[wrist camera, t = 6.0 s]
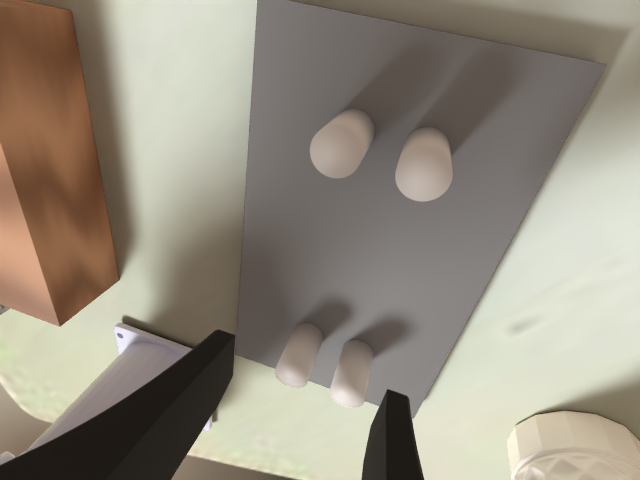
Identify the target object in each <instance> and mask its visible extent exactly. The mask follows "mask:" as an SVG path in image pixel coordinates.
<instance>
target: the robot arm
mask: <svg viewBox="0 0 640 480" xmlns="http://www.w3.org/2000/svg"><path fill="white" fill-rule="evenodd" d="M114 331H115V336H116V341H117V346H118V351H119V356H118V357H117V358H116V359H115V360H114V361H113V362H112V363H111V364H110V365H109V366H108V367H107V368H106V369H105V371H104V372H103V373H102V374H101V375H100V376H99V377H98V378H97V379H96V380H95V381H94V382H93V383H92V384H91V385H90V386H89V387H88V388H87V389H86V390H85V391H84V392H83V393H82V394H81V395H80V396H79V397H78V398H77V399H76V400H75V401H74V402H73V403H72V404H71V405H70V406H69V407H68V408H67V409H66V410H65V411H64V412H63V413H62V415H61V416H60V417H59V418H58V419H57V420H56V421H55V422H54V423H53V424H52V425H51V426H50V427H49V428H48V429H47V430H46V431H45V432H44V433H43V434H42V435H41V436H40V437H39V438H38V439H37V440H36V441H35V442H34V443H33V444H32V445H31V446H30V447H29V448H28V449H27V450H26V451H24V452H23V453H21V454H20V455H19V456H17V457H16V458H15V456H14V455H12V454H11V453H10V452H7V451H6V452H3V453H2V454H1V455H0V480H171V479H172V477H173V475H174V473H175V472H176V470H177V469H178V467H179V466H180V464H181V462H182V461H183V459H184V458H185V456H186V455H187V453H188V451H189V450H190V448H191V447H192V445H193V444H194V442H195V441H196V439H197V437H198V436H199V434H200V433H201V431H202V430H205V431H209V430H210V429H211V427H212V414H213V412H214V411H215V409H216V407H217V406H218V404H219V402H220V400H221V398H222V396H223V394H224V392H225V390H226V388H227V386H228V384H229V382H230V380H231V378H232V376H233V364H234V346H235V335H233V334H230V333H227V332H224V331H221V330H215V331H214V332H213V333H212V334H210V335H209V336H208V337H207V338H206V339H204V340H203V341H202V342H201V343H200V344H198V345H197V346H196V347H195V348H193V349H192V348H189V347H186V346H184V345H181V344H178V343H175V342H173V341H170V340H167V339H164V338H162V337H159V336H156V335H153V334H151V333H148V332H145V331H142V330H140V329H137V328H134V327H131V326H129V325H126V324H123V323H118V324H117V325H115V326H114ZM362 480H424V477H423V473H422V468H421V464H420V460H419V455H418V451H417V446H416V440H415V435H414V429H413V423H412V417H411V409H410V399H409V398H408V396H407V395H404V394H401V393H398V392H395V391H392V390H389V389H387V391H386V393H385V395H384V397H383V400H382V402H381V404H380V407H379V409H378V411H377V413H376V416H375V418H374V420H373V423H372V425H371V428H370V433H369V438H368V442H367V447H366V452H365V457H364V463H363V472H362Z"/></svg>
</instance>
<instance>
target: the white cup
mask: <svg viewBox="0 0 640 480" xmlns="http://www.w3.org/2000/svg"><path fill="white" fill-rule="evenodd" d="M507 446H508V454H509V462H510V470H511V478H512V480H640V441H639V440H638V439H637V438H636V437H635V436H634V435H633V434H632V433H631V432H630V431H629V430H628V429H627V428H626V427H625V426H623V425H621V424H619V423H616V422H614V421H611V420H609V419H606V418H604V417H601V416H599V415H596V414H589V413H581V412H572V411H558V412H551V413H545V414H538V415H534V416H532V417H530V418H529V419H527V420H525V421H523V422H521V423H519V424H518V425H516V426H515V427H514V429H513V431H512V433H511V435H510V436H509V438H508V440H507Z"/></svg>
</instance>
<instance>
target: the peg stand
mask: <svg viewBox="0 0 640 480" xmlns="http://www.w3.org/2000/svg"><path fill="white" fill-rule="evenodd" d="M605 67H606V64H601V63H596V62H591V61H586V60H582V59H577V58H572V57H567V56H562V55H557V54H552V53H547V52H542V51H537V50H532V49H527V48H522V47H517V46H512V45H507V44H502V43H497V42H492V41H487V40H483V39H478V38H473V37H468V36H463V35H458V34H453V33H448V32H443V31H438V30H433V29H428V28H423V27H418V26H413V25H408V24H403V23H398V22H393V21H388V20H384V19H379V18H374V17H369V16H364V15H359V14H354V13H349V12H344V11H339V10H334V9H329V8H324V7H319V6H314V5H309V4H304V3H299V2H294V1H289V0H257V15H256V31H255V47H254V63H253V79H252V95H251V111H250V127H249V143H248V159H247V175H246V191H245V207H244V223H243V239H242V255H241V271H240V287H239V303H238V319H237V335H236V351H235V354H236V355H238V356H241V357H244V358H247V359H250V360H252V361H255V362H258V363H261V364H263V365H266V366H269V367H272V368H275V374H276V376H277V378H278V379H279V380H280V381H281V382H282V383H284V384H285V385H287V386H290V387H294V388H300V387H303V386H305V385H306V384H307V382H308V381H311V382H314V383H316V384H319V385H322V386H325V387H327V388H330V396H331V397H332V399H333V400H334V401H335V402H337V403H338V404H340V405H342V406H345V407H349V408H356V407H359V406H361V405H362V404H363V403H364V401H366V402H369V403H372V404H375V405H377V406H380V404H381V402H382V400H383V397H384V395H385V393H386V391H387V389H389V390H392V391H395V392H398V393H401V394H404V395H407V396H408V398H409V399H410V409H411V417H412V418H414V417H415V415H416V413H417V412H418V410H419V408H420V406H421V404H422V402H423V401H424V399H425V397H426V395H427V393H428V391H429V390H430V388H431V386H432V384H433V382H434V380H435V379H436V377H437V375H438V373H439V371H440V369H441V368H442V366H443V364H444V362H445V360H446V359H447V357H448V355H449V353H450V351H451V349H452V348H453V346H454V344H455V342H456V340H457V338H458V337H459V335H460V333H461V331H462V329H463V327H464V326H465V324H466V322H467V320H468V318H469V316H470V315H471V313H472V311H473V309H474V307H475V305H476V304H477V302H478V300H479V298H480V296H481V294H482V293H483V291H484V289H485V287H486V285H487V283H488V282H489V280H490V278H491V276H492V274H493V272H494V271H495V269H496V267H497V265H498V263H499V261H500V260H501V258H502V256H503V254H504V252H505V250H506V249H507V247H508V245H509V243H510V241H511V239H512V238H513V236H514V234H515V232H516V230H517V228H518V227H519V225H520V223H521V221H522V219H523V217H524V216H525V214H526V212H527V210H528V208H529V206H530V205H531V203H532V201H533V199H534V197H535V195H536V194H537V192H538V190H539V188H540V186H541V184H542V183H543V181H544V179H545V177H546V175H547V173H548V172H549V170H550V168H551V166H552V164H553V162H554V161H555V159H556V157H557V155H558V153H559V151H560V150H561V148H562V146H563V144H564V142H565V140H566V139H567V137H568V135H569V133H570V131H571V129H572V128H573V126H574V124H575V122H576V120H577V118H578V117H579V115H580V113H581V111H582V109H583V107H584V106H585V104H586V102H587V100H588V98H589V96H590V95H591V93H592V91H593V89H594V87H595V86H596V84H597V82H598V80H599V78H600V76H601V75H602V73H603V71H604V69H605Z"/></svg>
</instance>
